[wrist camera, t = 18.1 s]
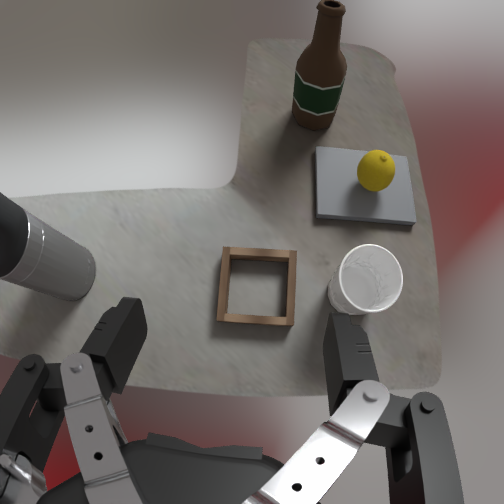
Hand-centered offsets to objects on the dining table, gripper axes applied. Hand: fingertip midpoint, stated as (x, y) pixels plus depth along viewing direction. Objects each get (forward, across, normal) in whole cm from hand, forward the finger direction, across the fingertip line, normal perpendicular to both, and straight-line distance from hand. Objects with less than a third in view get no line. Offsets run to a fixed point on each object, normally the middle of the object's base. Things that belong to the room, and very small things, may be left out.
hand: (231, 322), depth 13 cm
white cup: (+27, -13, +17) cm, 34 cm away
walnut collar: (+26, 0, +17) cm, 31 cm away
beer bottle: (+48, -8, -5) cm, 49 cm away
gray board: (+38, -16, +5) cm, 42 cm away
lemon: (+37, -16, +4) cm, 41 cm away
